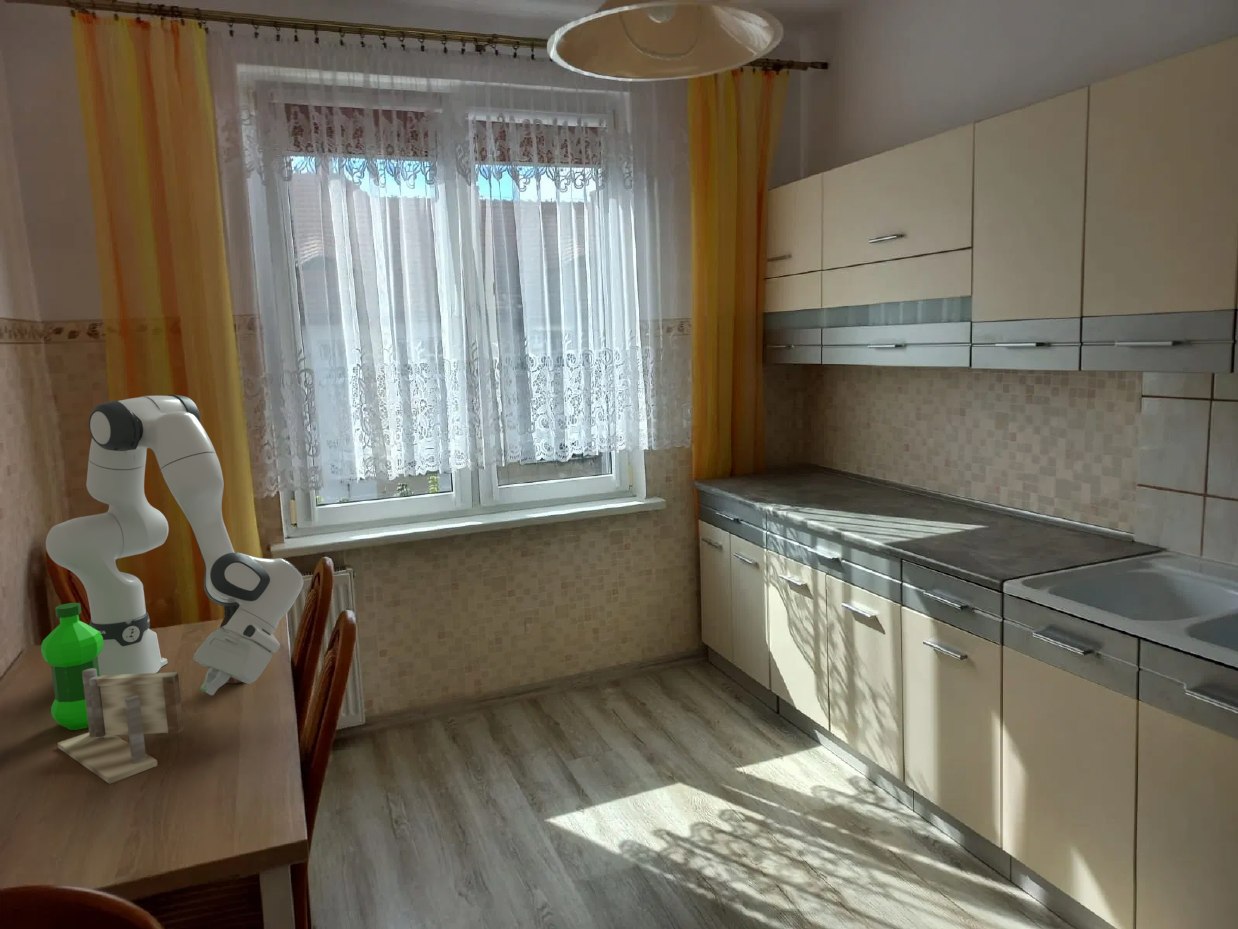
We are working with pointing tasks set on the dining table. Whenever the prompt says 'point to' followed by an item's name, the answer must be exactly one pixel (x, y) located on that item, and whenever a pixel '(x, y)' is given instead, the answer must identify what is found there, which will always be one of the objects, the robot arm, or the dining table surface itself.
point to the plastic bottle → (71, 664)
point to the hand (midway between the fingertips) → (205, 692)
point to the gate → (155, 702)
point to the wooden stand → (110, 743)
